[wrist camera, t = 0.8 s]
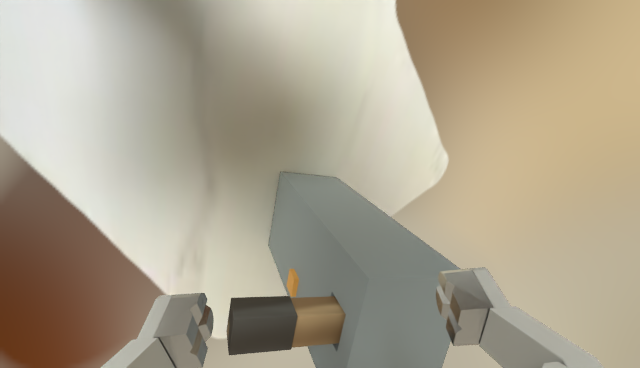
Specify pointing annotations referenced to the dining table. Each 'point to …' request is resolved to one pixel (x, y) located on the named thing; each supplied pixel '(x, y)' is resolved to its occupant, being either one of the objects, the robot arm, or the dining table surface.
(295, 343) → the lever
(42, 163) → the dining table surface
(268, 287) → the dining table surface
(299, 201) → the cabinet
